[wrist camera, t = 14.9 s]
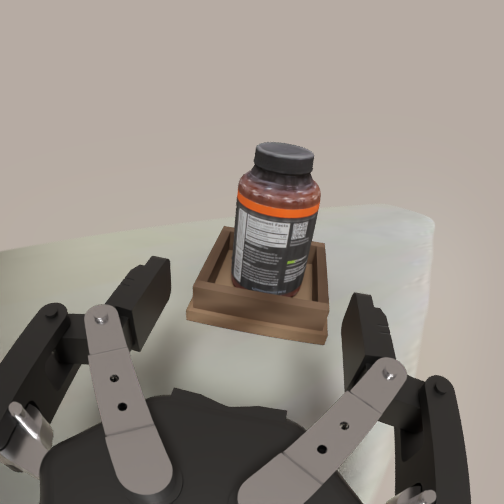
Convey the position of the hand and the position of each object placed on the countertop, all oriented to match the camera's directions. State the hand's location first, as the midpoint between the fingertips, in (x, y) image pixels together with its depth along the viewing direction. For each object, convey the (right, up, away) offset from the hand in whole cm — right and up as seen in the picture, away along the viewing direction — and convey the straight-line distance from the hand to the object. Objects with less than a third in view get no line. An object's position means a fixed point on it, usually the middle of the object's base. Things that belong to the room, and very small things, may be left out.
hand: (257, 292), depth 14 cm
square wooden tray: (+1, -2, +14) cm, 14 cm away
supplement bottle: (+1, -1, +13) cm, 13 cm away
